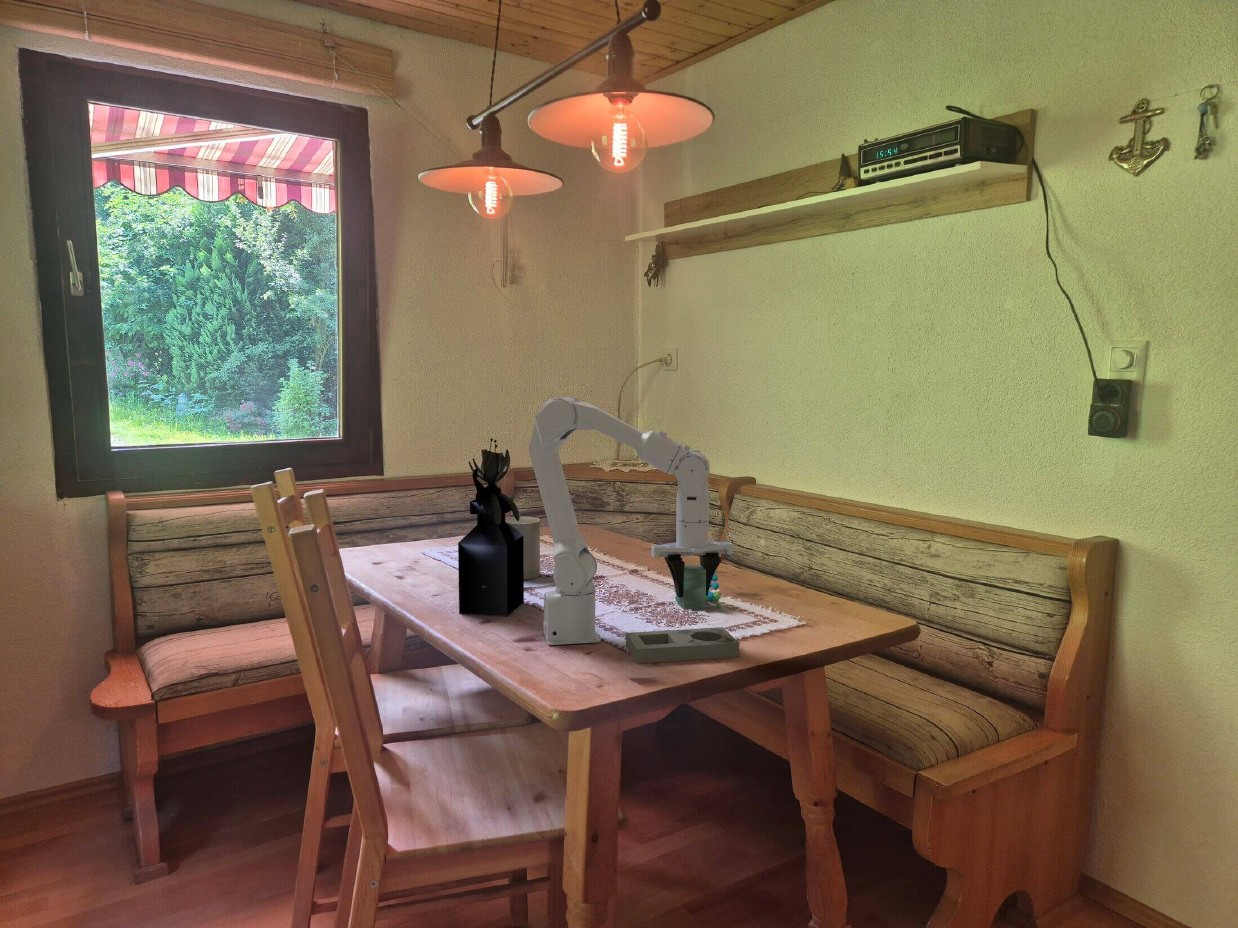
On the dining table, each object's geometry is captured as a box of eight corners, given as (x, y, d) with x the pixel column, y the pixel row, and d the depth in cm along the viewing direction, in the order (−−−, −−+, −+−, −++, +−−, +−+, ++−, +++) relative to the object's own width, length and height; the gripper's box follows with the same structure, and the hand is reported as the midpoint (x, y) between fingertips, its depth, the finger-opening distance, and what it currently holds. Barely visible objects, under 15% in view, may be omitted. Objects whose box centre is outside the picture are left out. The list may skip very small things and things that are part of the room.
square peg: (683, 609, 145) (684, 570, 145) (677, 603, 149) (677, 565, 149) (705, 608, 146) (706, 569, 146) (698, 602, 150) (699, 564, 149)
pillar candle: (493, 574, 200) (492, 513, 198) (529, 569, 205) (528, 509, 203) (510, 582, 192) (510, 519, 190) (547, 577, 197) (547, 515, 195)
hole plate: (636, 663, 138) (637, 649, 138) (625, 646, 147) (625, 632, 147) (739, 656, 142) (739, 642, 142) (722, 640, 151) (722, 627, 150)
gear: (664, 595, 175) (692, 559, 178) (676, 610, 178) (704, 575, 181) (700, 614, 167) (728, 576, 169) (712, 630, 170) (740, 592, 173)
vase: (508, 621, 161) (507, 443, 158) (453, 617, 164) (450, 441, 160) (530, 602, 175) (530, 437, 172) (479, 598, 178) (477, 436, 174)
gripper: (658, 525, 141) (658, 603, 142) (739, 522, 144) (738, 598, 145) (648, 518, 147) (648, 593, 149) (725, 515, 150) (724, 588, 152)
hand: (691, 595), depth 147 cm, fingers closed on square peg, 4 cm apart
